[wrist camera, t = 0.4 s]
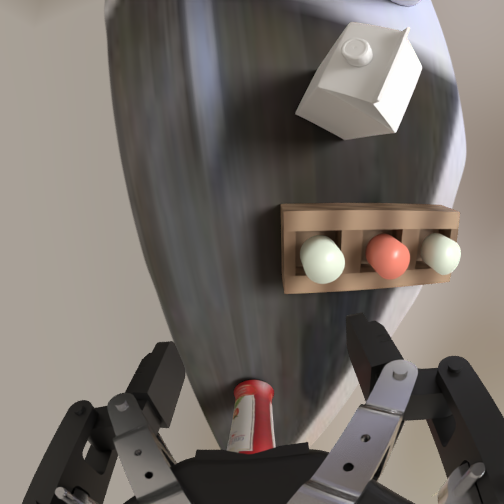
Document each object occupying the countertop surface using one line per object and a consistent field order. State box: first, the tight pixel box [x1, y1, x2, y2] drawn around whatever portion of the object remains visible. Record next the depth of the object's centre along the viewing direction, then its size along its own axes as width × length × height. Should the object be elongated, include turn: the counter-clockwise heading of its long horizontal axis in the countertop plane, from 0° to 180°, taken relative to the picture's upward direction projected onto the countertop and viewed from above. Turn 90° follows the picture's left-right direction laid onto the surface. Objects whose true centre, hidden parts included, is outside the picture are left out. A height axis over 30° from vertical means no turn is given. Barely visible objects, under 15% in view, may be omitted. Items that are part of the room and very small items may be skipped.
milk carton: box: [295, 22, 422, 140], centre depth 23 cm, size 7×7×19 cm
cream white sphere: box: [421, 233, 461, 275], centre depth 30 cm, size 4×4×4 cm
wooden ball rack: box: [281, 203, 460, 294], centre depth 35 cm, size 24×10×5 cm, turn 93°
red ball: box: [365, 234, 410, 280], centre depth 31 cm, size 4×4×4 cm
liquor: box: [227, 380, 275, 454], centre depth 33 cm, size 7×7×28 cm
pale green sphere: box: [300, 235, 345, 284], centre depth 31 cm, size 4×4×4 cm
